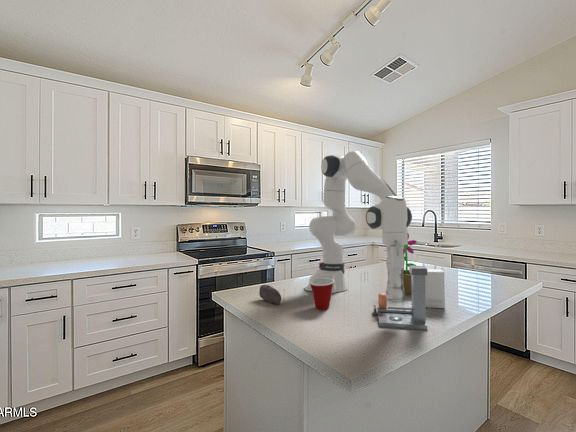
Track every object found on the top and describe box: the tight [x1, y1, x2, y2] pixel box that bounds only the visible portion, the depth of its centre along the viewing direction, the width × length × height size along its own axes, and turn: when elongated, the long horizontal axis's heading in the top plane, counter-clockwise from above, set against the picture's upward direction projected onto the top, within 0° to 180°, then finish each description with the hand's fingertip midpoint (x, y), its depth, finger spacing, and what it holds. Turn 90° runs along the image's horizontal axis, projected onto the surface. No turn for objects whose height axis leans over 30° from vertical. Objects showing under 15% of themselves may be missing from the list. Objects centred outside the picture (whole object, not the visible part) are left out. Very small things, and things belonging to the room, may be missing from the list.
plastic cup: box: [308, 278, 334, 311], centre depth 131 cm, size 11×11×12 cm
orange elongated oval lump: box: [376, 292, 388, 310], centre depth 122 cm, size 4×3×7 cm
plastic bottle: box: [385, 250, 406, 302], centre depth 112 cm, size 6×7×20 cm
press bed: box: [377, 265, 428, 331], centre depth 113 cm, size 17×11×21 cm, turn 76°
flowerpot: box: [403, 233, 418, 296], centre depth 154 cm, size 14×14×30 cm
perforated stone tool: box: [258, 284, 282, 305], centre depth 141 cm, size 15×5×7 cm, turn 35°
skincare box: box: [425, 268, 446, 309], centre depth 132 cm, size 8×7×16 cm
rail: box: [373, 304, 412, 317], centre depth 121 cm, size 19×5×3 cm, turn 76°
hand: (395, 276), depth 113 cm, fingers closed on plastic bottle, 6 cm apart
